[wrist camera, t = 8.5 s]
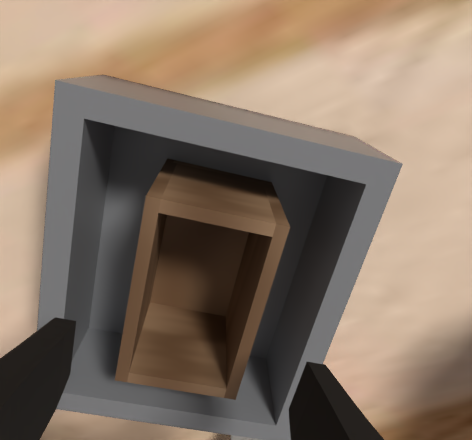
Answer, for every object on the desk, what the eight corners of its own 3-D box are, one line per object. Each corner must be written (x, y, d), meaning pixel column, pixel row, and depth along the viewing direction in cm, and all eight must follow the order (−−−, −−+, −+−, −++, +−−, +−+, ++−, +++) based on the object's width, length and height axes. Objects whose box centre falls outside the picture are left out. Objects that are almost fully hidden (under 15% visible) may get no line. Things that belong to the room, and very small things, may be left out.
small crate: (271, 182, 19) (290, 227, 14) (232, 320, 22) (235, 399, 17) (167, 158, 18) (146, 195, 13) (140, 303, 21) (114, 380, 16)
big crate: (354, 136, 19) (402, 164, 14) (276, 363, 24) (290, 443, 19) (103, 74, 18) (55, 79, 13) (74, 328, 23) (31, 405, 18)
